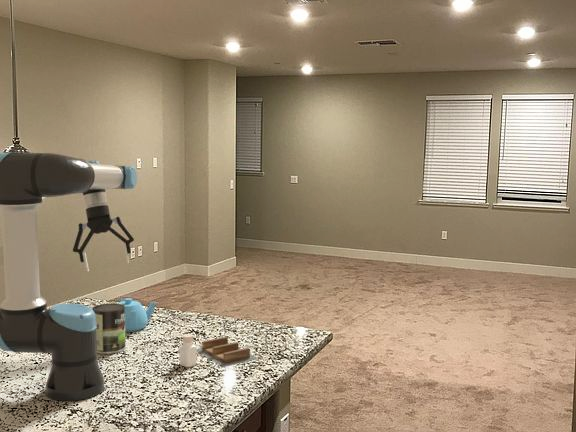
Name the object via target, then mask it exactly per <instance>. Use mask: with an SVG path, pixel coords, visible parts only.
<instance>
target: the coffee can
mask: <svg viewBox="0 0 576 432" xmlns="http://www.w3.org/2000/svg"><path fill="white" fill-rule="evenodd" d="M91 309H92V310H93V311H94V313H95V317H96V324H97V328H96V339H97V354H100V355H101V354H102V355H112V354H118V353H121V352H123V351H125V350H126V348H127V347H126V332H125V306H124V305H122V304H117V303H115V302H114V303H112V302H111V303H103V304H102V303H101V304H97V305H95V306H93V307H92V308H91Z"/></svg>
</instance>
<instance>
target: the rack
mask: <svg viewBox="0 0 576 432" xmlns="http://www.w3.org/2000/svg"><path fill="white" fill-rule="evenodd" d="M228 343H229V338H228V336H223V337H217V338H212V339H209V340H203V341H202V342H201V348H202V351H204V352H206V353H208V354H209V355H211V356H213V357H215V358H217V359H218V360H220V361H222V362H224V363H225V364H226V363H230V362H234V361H238V360H242V359H247V358H250V354H251V348H250V347H244V348H240V347H239V344H240V343H239V342H238V341H235V342H230V343H229V344H228ZM239 348H240V349H239Z"/></svg>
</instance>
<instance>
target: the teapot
mask: <svg viewBox="0 0 576 432" xmlns="http://www.w3.org/2000/svg"><path fill="white" fill-rule="evenodd" d="M116 304H122V305H124V306H125V333H130V332H137V331H141V330H143V329H144V328H145V327H146V326H147V325H148V323H149V321H150V320H151V317H152V315H153V313H154V311H155V308H156V306H157V302H156V301H155V302H154V301H153V302H152V301H151V302H150V304H149V306H148V307H147V309H146V310H145V308H144V306H143V305H142V304H141V302H140V301H137V300H133V298H131V297H127V298H120V301H119V302H117V303H116Z"/></svg>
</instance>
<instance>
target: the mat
mask: <svg viewBox="0 0 576 432" xmlns="http://www.w3.org/2000/svg"><path fill="white" fill-rule="evenodd" d="M228 344H229V342H228ZM239 349H241V348H240V347H239ZM196 351H197V353H198V354H200V355H202V356H203V357H206V358H207V359H209V360H210V361H212V362H214V363H216V364H217V365H219V366H221V367H223V368H225V367H230V366H233V365H234V366H235V365H238V364H241V363H242V364H243V363H248V362H251V361H255V360H259V357H257V356H255V355H253V354H251V353H250V358H247V359H242V360H238V361H234V362H230V363H226V364H225V363H224V362H222V361H220V360H218V359H217V358H215V357H213V356H211V355H209V354H208V353H206V352H204V351H202V347H200V348H196Z"/></svg>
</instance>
